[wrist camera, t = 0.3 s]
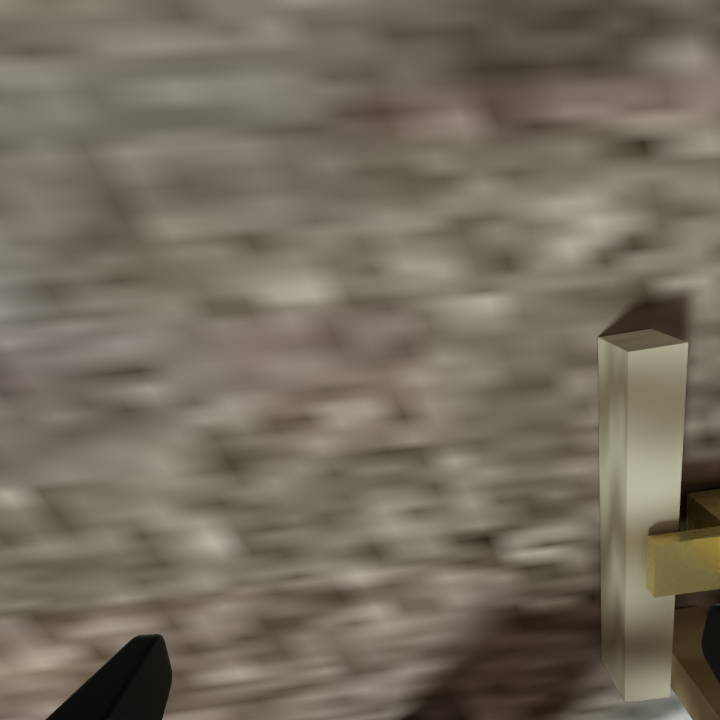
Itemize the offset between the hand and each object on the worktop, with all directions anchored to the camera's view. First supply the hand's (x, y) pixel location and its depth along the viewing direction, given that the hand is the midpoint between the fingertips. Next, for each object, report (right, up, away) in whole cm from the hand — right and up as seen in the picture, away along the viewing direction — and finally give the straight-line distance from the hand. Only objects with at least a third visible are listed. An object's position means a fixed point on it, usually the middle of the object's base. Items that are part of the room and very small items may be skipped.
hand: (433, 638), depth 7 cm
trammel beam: (+17, -3, +16) cm, 23 cm away
